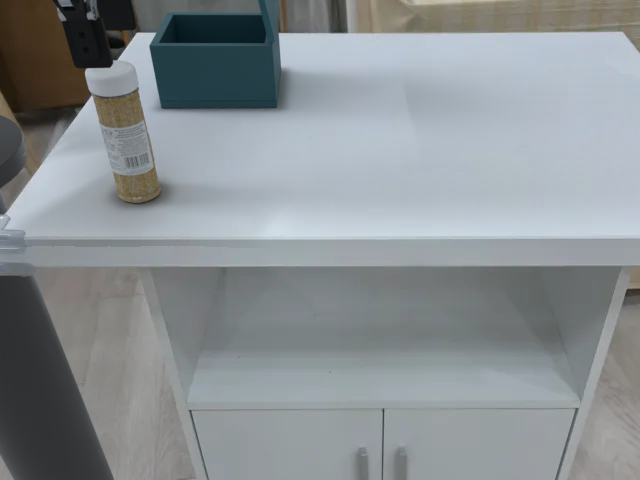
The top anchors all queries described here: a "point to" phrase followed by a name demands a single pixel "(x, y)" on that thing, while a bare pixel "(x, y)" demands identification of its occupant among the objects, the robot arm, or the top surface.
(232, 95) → the teal hollow box
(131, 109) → the sprinkles bottle
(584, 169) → the top surface
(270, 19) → the lid
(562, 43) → the top surface
